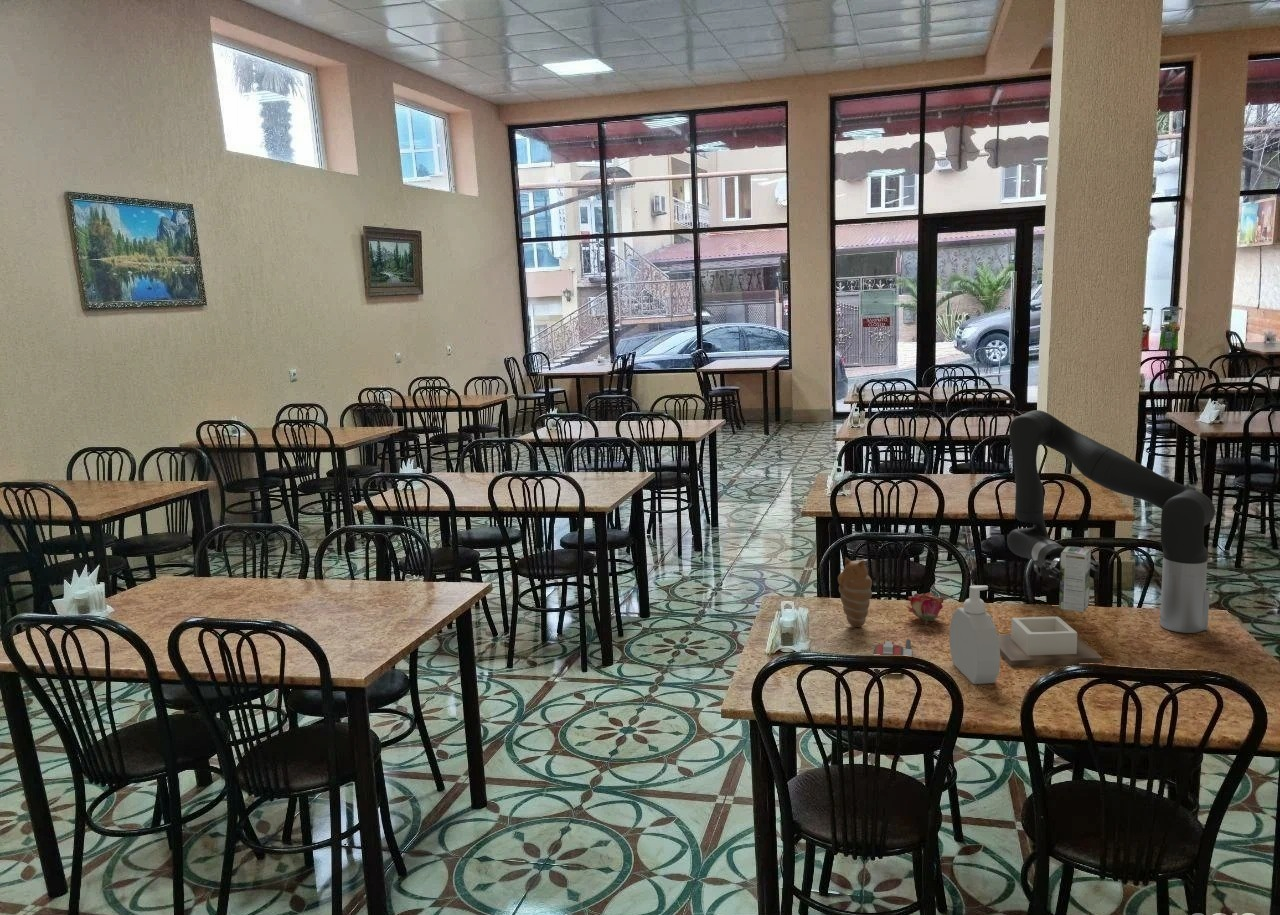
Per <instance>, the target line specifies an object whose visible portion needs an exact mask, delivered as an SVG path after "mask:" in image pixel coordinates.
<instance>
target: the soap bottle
mask: <svg viewBox="0 0 1280 915" xmlns="http://www.w3.org/2000/svg"><path fill="white" fill-rule="evenodd" d="M986 590H989V586H988V585H985V584H984V585H981V584H979V585H972V584H971V585H970V586H969V597H968V598H966V599H965V600H964V602H963V606H962V607H957V608H956V609H955V610H954V612H953V613H952V615H951V619H950V623H949V624H950V625H949V634H948V638H949V639H948V640H949V649H950V656H951V661H952V664H953V666H954V667H955V668H956V669H957V670H958V671H959V672H961V673H962V675H963V676H964V677H965V678H967V680H968V681H969V682H970V683H972V684H973V685H983V684H984V685H986V684H995V683H996V681H997V679H998V677H999V674H1000V668H1001V667H1000V666H1001V664H1000V663H1001V655H1000V645H999V639H998V635H997V634H998V631H997V626H996V624H995V623H994V622H995V621H994V620H993V617H992V616H991V614H989V613H988V611H986V602H984V600H983V599H982V598H981V597H980V595H981V594H980V593H981V592H980V591H986Z"/></svg>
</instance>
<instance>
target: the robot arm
mask: <svg viewBox="0 0 1280 915" xmlns="http://www.w3.org/2000/svg"><path fill="white" fill-rule="evenodd" d="M1008 433H1009V435H1008V436H1009V441H1010V448H1011V454H1012V455H1011V456H1012V462H1013V469H1014V478H1015V504H1014V505H1015V510H1014V511H1015V512H1014V513H1015V514H1014V515H1015V519H1017V520H1018V521H1020V522H1023V523H1026V524H1027V523H1029V524H1032V526H1033V527H1023V528H1021V527H1020V528H1015V529H1012V530H1011V531H1010V532H1009V534H1008V536H1007V539H1006V544H1007V547H1008V548H1009V550H1010V551H1011V552H1012V553H1013V554H1014V555H1016V556H1018V557H1020V558H1025V559H1028V560H1031V561H1033V570H1034V572H1035V573H1036V574H1037V575H1039V576H1040V577H1041V578H1042V577H1043V578H1045V577H1047V576H1048V577H1049V578H1053V579H1056V580H1057V581H1058V582H1060V581H1062V572H1061V571H1060V567H1061V553H1062V551H1063V550H1064V549H1065V548H1066V547H1064V546H1062V544H1059V543H1057V542H1055V541H1053V540H1052V539H1050V536H1049V534H1048V530H1047V527H1046V522H1045V517H1044V498H1045V497H1044V487H1043V483H1042V481H1041V478H1040V475H1039V472H1038V467H1037V457H1038V456H1037V455H1038V450H1039V446H1042V445H1043V446H1045V447H1048V448H1050V449H1052V450H1054V451H1057V452H1058V453H1060V454H1062V455H1064V456H1065V458H1067V459H1068V460H1069V461H1070V462H1071V463H1072V464H1073V466H1074V467H1075V468H1076V469H1077V470H1078V471H1079V472H1080V473H1081V474H1082V475H1083V476H1084V477H1085V478H1087V479H1088V480H1090V481H1092V482H1094V483H1096V484H1097V485H1099V486H1101V487H1103V488H1104V489H1107V490H1109V491H1113V492H1114V493H1118V494H1122V495H1125V496H1127V497H1132V498H1135V499H1138V500H1139V499H1140V500H1142V501H1145V502H1147V503H1150V504H1152V505H1154V506H1155V507H1157V508H1159V509H1161V516H1160V545H1161V548H1162V553H1163V555H1162V575H1161V576H1162V577H1161V591H1160V592H1161V594H1160V596H1161V597H1160V614H1159V626H1160V627H1162V628H1163V629H1165V630H1168V631H1172V632H1176V633H1183V634H1196V633H1201V632H1203V631H1208V626H1209V610H1210V609H1209V607H1210V594H1211V593H1210V592H1209V591H1208V590H1207V577H1208V576H1207V574H1208V561H1209V560H1208V559H1209V558H1208V557H1209V552H1208V550H1209V549H1208V548H1207V547H1206V546H1205V544H1204V541H1205V538H1204V537H1205V536H1204V535H1205V526H1207V525H1208V524H1210V523H1211V522H1212V521H1213V520H1214V517H1215V515H1216V508H1215V504H1214V503H1213V501H1212V500H1211V498H1210V497H1208V496H1207V495H1206V494H1204V493H1203V492H1201V491H1199V490H1196V489H1194V488H1191V487H1189V486H1187V485H1184V484H1182V483H1178V482H1176V481H1173V480H1171V479H1169V478H1167V477H1164V476H1162V475H1161V474H1159V473H1157V472H1155V471H1153V470H1152V469H1150V468H1148V467H1146V466H1145V465H1143V464H1141V463H1138V462H1136V461H1135V460H1133V459H1131V458H1130V457H1127V456H1126V455H1124V454H1123V453H1121V452H1118V451H1116V450H1115V449H1113V448H1111V447H1109V446H1106V445H1104V444H1102V443H1100V442H1098V441H1096V440H1095V439H1093V438H1090V437H1088V436H1086V435H1085V434H1082V433H1080V432H1078V431H1076V430H1075V429H1074V428H1072V427H1070V426H1068V425H1067V424H1065V423H1064V422H1062V421H1060V420H1059V419H1057V417H1055V416H1053V415H1052V414H1049V413H1048V412H1046V411H1043V410H1034V409H1033V410H1030V411H1028V412H1025V413H1023V414H1020V415H1018V416H1016V417H1015V418H1014V419H1013V420H1012V421H1011V423H1010V424H1009V431H1008ZM1099 575H1100V563H1098V562H1097V561H1095V560H1094V559H1092V558H1091V560H1090V579H1091V578H1092V579H1093V580H1098V578H1099V577H1100V576H1099Z"/></svg>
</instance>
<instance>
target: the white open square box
mask: <svg viewBox="0 0 1280 915" xmlns="http://www.w3.org/2000/svg"><path fill="white" fill-rule="evenodd" d="M1010 620H1011V621H1010V623H1011V624H1010V625H1011V626H1010V629H1011V630H1010V634H1011V639H1012V640H1013V641H1014V642H1015V643H1016V644H1017V645H1018V646H1019V647H1020V648H1021V649H1022V650H1023V651H1024V652H1025V653H1026V654H1027V655H1059V654H1077V636H1078V632H1077V631H1076V630H1075V629H1074V628H1072V627H1071V626H1070V625H1069V624H1067V622H1066V621H1064V620H1063V619H1062V618H1061V617H1060V616H1031V617H1030V616H1029V617H1011V619H1010Z"/></svg>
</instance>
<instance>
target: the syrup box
mask: <svg viewBox="0 0 1280 915" xmlns="http://www.w3.org/2000/svg"><path fill="white" fill-rule="evenodd" d="M1064 548H1065V549H1064V550H1063V551H1062V553H1061V567H1060V571H1061V572H1062V581H1059V597H1058V598H1059V602H1058V609H1060V610H1066V611H1071V612H1072V611H1073V612H1082V613H1084V612H1086V610H1087V608H1088V607H1089V605H1090V584H1091V577H1090V560H1091V559H1092V558H1091V555H1092V553H1091V551H1092V549H1090V548H1084V547H1079V546H1065V547H1064Z"/></svg>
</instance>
